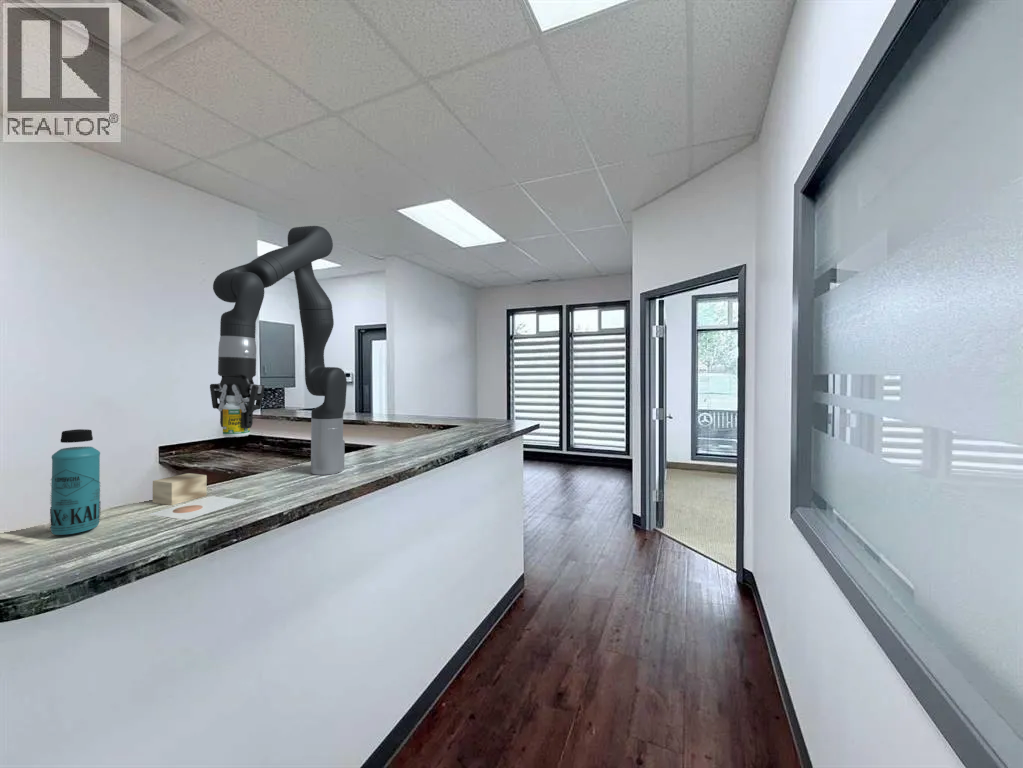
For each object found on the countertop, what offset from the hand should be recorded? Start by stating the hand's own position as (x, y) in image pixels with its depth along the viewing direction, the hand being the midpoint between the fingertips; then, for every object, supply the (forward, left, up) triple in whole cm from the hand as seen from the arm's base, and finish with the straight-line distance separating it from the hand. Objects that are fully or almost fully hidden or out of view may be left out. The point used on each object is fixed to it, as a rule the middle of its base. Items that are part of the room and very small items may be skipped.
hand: (236, 427), depth 98 cm
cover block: (+4, -12, -18) cm, 22 cm away
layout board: (+7, -2, -18) cm, 19 cm away
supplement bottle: (0, 0, -2) cm, 2 cm away
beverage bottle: (+25, -9, -18) cm, 32 cm away
